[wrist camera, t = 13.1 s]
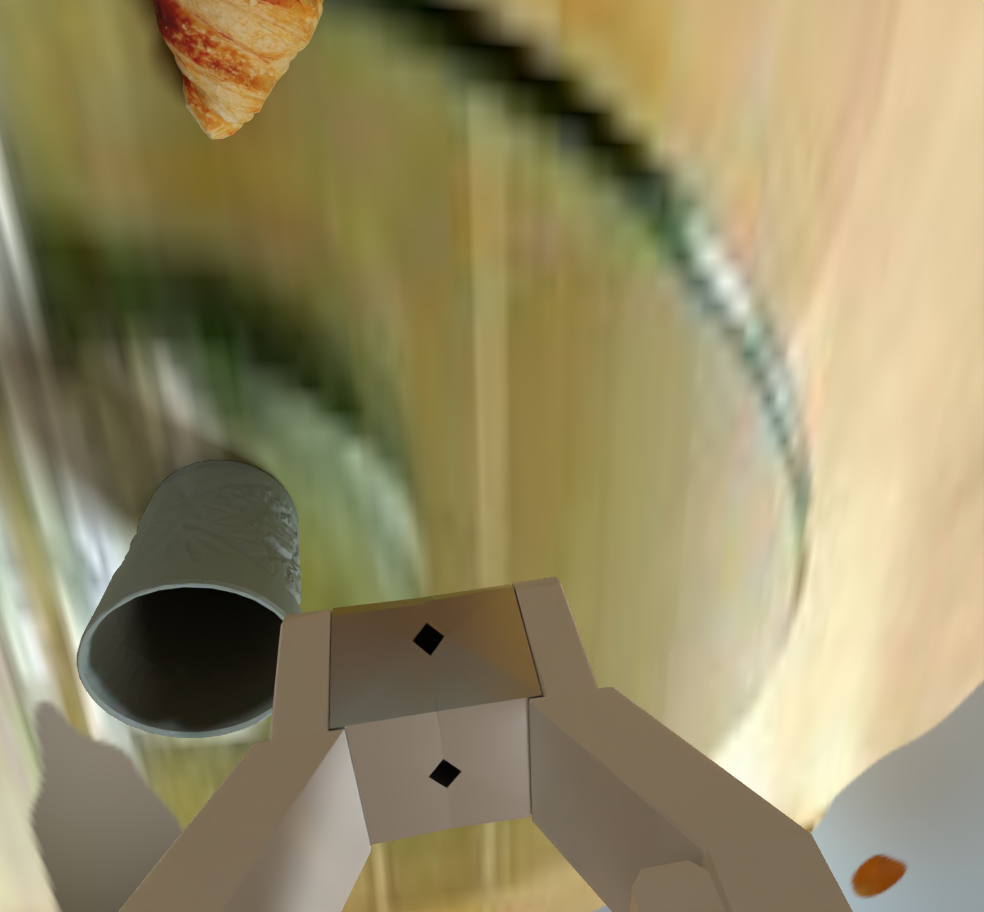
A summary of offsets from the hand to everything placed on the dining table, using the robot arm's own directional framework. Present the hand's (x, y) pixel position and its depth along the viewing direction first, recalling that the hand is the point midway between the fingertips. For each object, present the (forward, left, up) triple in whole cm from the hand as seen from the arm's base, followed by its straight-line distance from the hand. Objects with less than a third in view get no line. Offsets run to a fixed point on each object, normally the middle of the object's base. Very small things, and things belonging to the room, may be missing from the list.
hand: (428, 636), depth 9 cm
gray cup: (-11, -21, -33) cm, 41 cm away
